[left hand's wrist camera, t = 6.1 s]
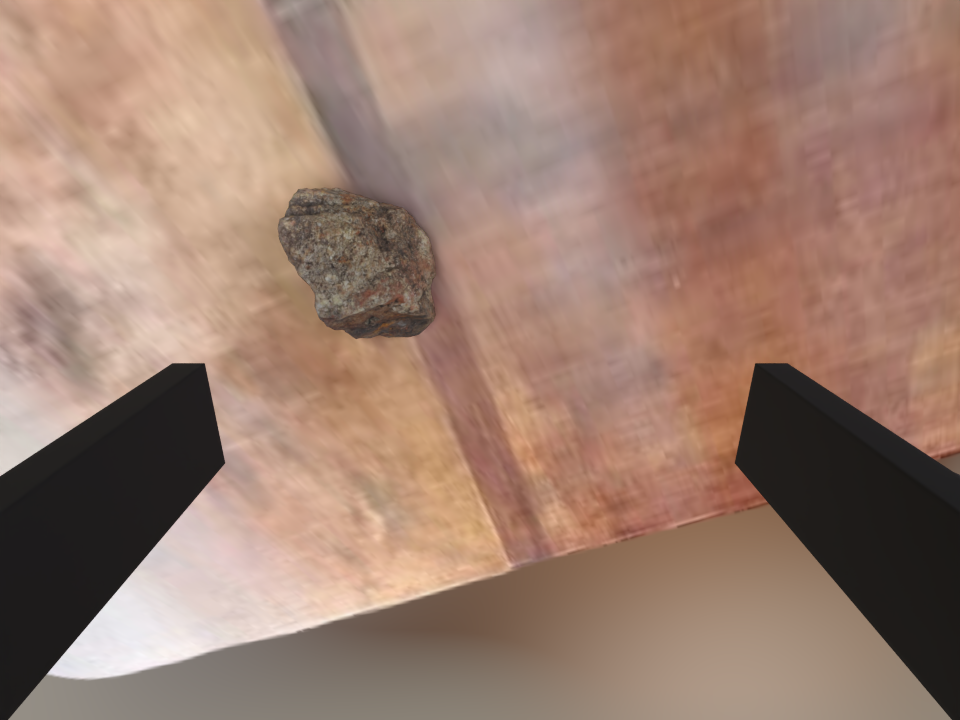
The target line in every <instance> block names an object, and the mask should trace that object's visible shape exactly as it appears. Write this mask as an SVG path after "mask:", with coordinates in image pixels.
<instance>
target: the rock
mask: <svg viewBox="0 0 960 720" xmlns="http://www.w3.org/2000/svg"><path fill="white" fill-rule="evenodd" d="M278 232H279V239H280V242H281V244H282V246H283V248H284V250H285V252H286V254H287V256H288V260H289V261H290V262H291V263H292V264H293V265H294V266H295V268H296V270H297V273H298V275H299V276H300V277H301V278H302V279H303V280H304V281H305V282H306V283H307V284H309V285H310V286H311V288H312V290H313V292H314V293H315V308H316V311H317V313H318V316H319V318H320V320H322V321H323V322H324V323H325V324H326V326H327V327H330V328H332V329H334V330H345V332H347V333H349V334H350V335H351V336H352V337H354V338H355V339H358V338H372V337H375V336H378V335H381V336H385V337H411V336H415V335H418V334H420V333H421V332H422V331H423V330H424V329H425V328H427V326H428V325H429V324H430V323H432V322H433V320H434V317H435V312H434V304H433V300H432V296H431V289H430V286H431V284H432V279H433V278H434V277H435V275H436V273H435V262H434V256H433V254H432V250H431V244H430V241H429V238H428V237H427V236H426V233H425V232H424V231H423V230H422V229H421V228H420V227H419V226H418V225H417V224H416V222H415V220H414V218H413V217H412V216H411V215H409V214H408V212H407V211H406V210H404V209H403V208H399V207H398V206H394V205H392V204H385V203H378V202H376V201H374V200H371V199H369V198H366V197H363V196H361V195H355V194H351V193H349V192H347V191H344V190H341V189H339V188H334V189H329V188H322V189H308V188H305V189H298V191H297V192H296V193H295V194H294V195H293V197H292V199H291V200H290V202H289V208H288V209H287V211H286V214H285V217H283V218H281V219H280V220H279V225H278Z"/></svg>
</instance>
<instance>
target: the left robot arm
mask: <svg viewBox="0 0 960 720" xmlns="http://www.w3.org/2000/svg"><path fill="white" fill-rule="evenodd" d="M224 464H225V460H224V455H223V450H222V445H221V441H220V436H219V431H218V426H217V421H216V416H215V411H214V406H213V402H212V397H211V392H210V387H209V382H208V377H207V372H206V367H205V363H172V364H171V365H169V366H168V367H166V368H165V369H163V370H162V371H160V372H159V373H157V374H156V375H154V376H153V377H151V378H150V379H148V380H146V381H145V382H143V383H142V384H140V385H139V386H137V387H136V388H134V389H133V390H131V391H130V392H128V393H127V394H125V395H124V396H122V397H121V398H119V399H117V400H116V401H114V402H113V403H111V404H110V405H108V406H107V407H105V408H104V409H102V410H101V411H99V412H98V413H96V414H95V415H93V416H92V417H90V418H88V419H87V420H85V421H84V422H82V423H81V424H79V425H78V426H76V427H75V428H73V429H72V430H70V431H69V432H67V433H66V434H64V435H63V436H61V437H59V438H58V439H56V440H55V441H53V442H52V443H50V444H49V445H47V446H46V447H44V448H43V449H41V450H40V451H38V452H37V453H35V454H34V455H32V456H30V457H29V458H27V459H26V460H24V461H23V462H21V463H20V464H18V465H17V466H15V467H14V468H12V469H11V470H9V471H8V472H6V473H5V474H3V475H1V476H0V720H8V719H9V718H10V717H11V716H12V714H13V713H14V712H15V711H16V710H17V708H18V707H19V706H20V705H21V704H22V703H23V701H24V700H25V699H26V698H27V697H28V695H29V694H30V693H31V692H32V691H33V690H34V688H35V687H36V686H37V685H38V684H39V682H40V681H41V680H42V679H43V678H44V677H45V675H46V674H47V673H48V672H49V671H50V669H51V668H52V667H53V666H54V665H55V664H56V662H57V661H58V660H59V659H60V658H61V656H62V655H63V654H64V653H65V652H66V651H67V649H68V648H69V647H70V646H71V645H72V643H73V642H74V641H75V640H76V639H77V638H78V636H79V635H80V634H81V633H82V632H83V630H84V629H85V628H86V627H87V626H88V625H89V623H90V622H91V621H92V620H93V619H94V617H95V616H96V615H97V614H98V613H99V612H100V610H101V609H102V608H103V607H104V606H105V604H106V603H107V602H108V601H109V600H110V599H111V597H112V596H113V595H114V594H115V593H116V591H117V590H118V589H119V588H120V587H121V586H122V584H123V583H124V582H125V581H126V580H127V578H128V577H129V576H130V575H131V574H132V573H133V571H134V570H135V569H136V568H137V567H138V566H139V564H140V563H141V562H142V561H143V560H144V558H145V557H146V556H147V555H148V554H149V553H150V551H151V550H152V549H153V548H154V547H155V545H156V544H157V543H158V542H159V541H160V540H161V538H162V537H163V536H164V535H165V534H166V532H167V531H168V530H169V529H170V528H171V527H172V525H173V524H174V523H175V522H176V521H177V519H178V518H179V517H180V516H181V515H182V514H183V512H184V511H185V510H186V509H187V508H188V506H189V505H190V504H191V503H192V502H193V501H194V499H195V498H196V497H197V496H198V495H199V493H200V492H201V491H202V490H203V489H204V488H205V486H206V485H207V484H208V483H209V482H210V480H211V479H212V478H213V477H214V476H215V475H216V473H217V472H218V471H219V470H220V469H221V467H222V466H223V465H224ZM735 464H736V465H737V466H738V467H739V469H740V470H741V471H742V472H743V473H744V475H745V476H746V477H747V478H748V479H749V480H750V482H751V483H752V484H753V485H754V486H755V488H756V489H757V490H758V491H759V492H760V493H761V495H762V496H763V497H764V498H765V499H766V501H767V502H768V503H769V504H770V505H771V506H772V508H773V509H774V510H775V511H776V512H777V514H778V515H779V516H780V517H781V518H782V519H783V521H784V522H785V523H786V524H787V525H788V527H789V528H790V529H791V530H792V531H793V532H794V534H795V535H796V536H797V537H798V538H799V540H800V541H801V542H802V543H803V544H804V545H805V547H806V548H807V549H808V550H809V551H810V552H811V554H812V555H813V556H814V557H815V558H816V560H817V561H818V562H819V563H820V564H821V565H822V567H823V568H824V569H825V570H826V571H827V573H828V574H829V575H830V576H831V577H832V578H833V580H834V581H835V582H836V583H837V584H838V586H839V587H840V588H841V589H842V590H843V591H844V593H845V594H846V595H847V596H848V597H849V599H850V600H851V601H852V602H853V603H854V604H855V606H856V607H857V608H858V609H859V610H860V611H861V613H862V614H863V615H864V616H865V617H866V619H867V620H868V621H869V622H870V623H871V624H872V626H873V627H874V628H875V629H876V630H877V632H878V633H879V634H880V635H881V636H882V638H883V639H884V640H885V641H886V642H887V643H888V645H889V646H890V647H891V648H892V649H893V651H894V652H895V653H896V654H897V655H898V656H899V658H900V659H901V660H902V661H903V662H904V664H905V665H906V666H907V667H908V668H909V669H910V671H911V672H912V673H913V674H914V675H915V676H916V678H917V679H918V680H919V681H920V682H921V684H922V685H923V686H924V687H925V688H926V690H927V691H928V692H929V693H930V694H931V695H932V697H933V698H934V699H935V700H936V701H937V703H938V704H939V705H940V706H941V707H942V708H943V710H944V711H945V712H946V713H947V714H948V716H949V717H950V718H951V719H952V720H960V475H959V474H957V473H954V472H952V471H951V470H949V469H948V468H946V467H945V466H943V465H942V464H940V463H939V462H937V461H936V460H934V459H933V458H931V457H930V456H928V455H926V454H925V453H923V452H922V451H920V450H919V449H917V448H916V447H914V446H913V445H911V444H910V443H908V442H907V441H905V440H904V439H902V438H901V437H899V436H897V435H896V434H894V433H893V432H891V431H890V430H888V429H887V428H885V427H884V426H882V425H881V424H879V423H878V422H876V421H875V420H873V419H872V418H870V417H868V416H867V415H865V414H864V413H862V412H861V411H859V410H858V409H856V408H855V407H853V406H852V405H850V404H849V403H847V402H846V401H844V400H843V399H841V398H839V397H838V396H836V395H835V394H833V393H832V392H830V391H829V390H827V389H826V388H824V387H823V386H821V385H820V384H818V383H817V382H815V381H814V380H812V379H810V378H809V377H807V376H806V375H804V374H803V373H801V372H800V371H798V370H797V369H795V368H794V367H792V366H791V365H789V364H788V363H755V367H754V372H753V377H752V382H751V387H750V392H749V397H748V402H747V406H746V411H745V416H744V421H743V426H742V431H741V436H740V441H739V445H738V450H737V455H736V460H735Z"/></svg>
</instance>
